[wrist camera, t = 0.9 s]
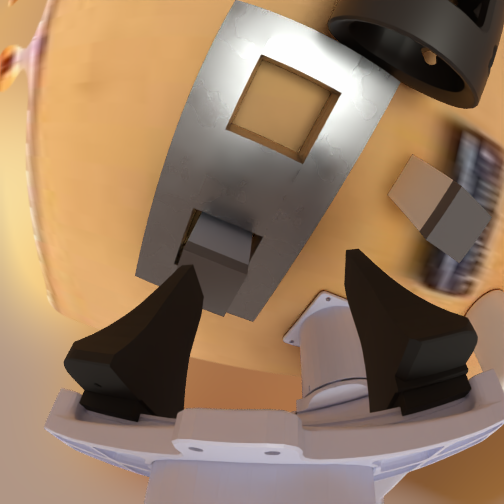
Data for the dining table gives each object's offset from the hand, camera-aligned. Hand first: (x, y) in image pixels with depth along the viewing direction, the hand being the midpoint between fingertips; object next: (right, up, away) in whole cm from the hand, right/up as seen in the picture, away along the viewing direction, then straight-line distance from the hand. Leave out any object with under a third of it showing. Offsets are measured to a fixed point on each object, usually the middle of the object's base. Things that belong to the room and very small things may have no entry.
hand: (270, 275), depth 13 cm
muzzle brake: (+12, +25, -5) cm, 28 cm away
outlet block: (-1, +7, +7) cm, 10 cm away
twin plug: (-3, +3, +10) cm, 11 cm away
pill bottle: (+30, -7, +14) cm, 34 cm away
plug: (+12, +6, +6) cm, 16 cm away
